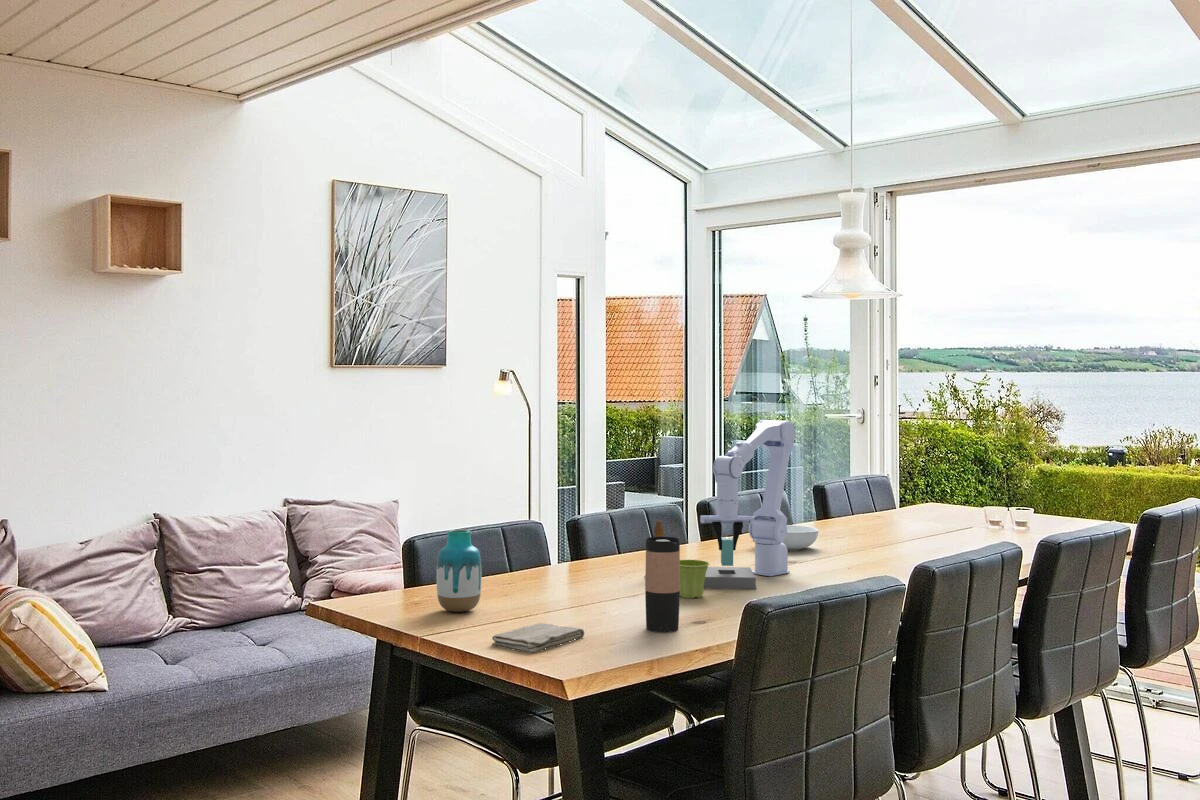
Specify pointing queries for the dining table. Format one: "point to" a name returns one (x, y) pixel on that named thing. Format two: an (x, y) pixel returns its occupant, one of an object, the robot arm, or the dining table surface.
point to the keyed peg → (727, 551)
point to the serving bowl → (799, 537)
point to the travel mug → (662, 584)
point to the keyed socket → (730, 578)
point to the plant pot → (692, 578)
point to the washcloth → (537, 637)
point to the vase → (458, 573)
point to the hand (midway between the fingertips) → (727, 549)
